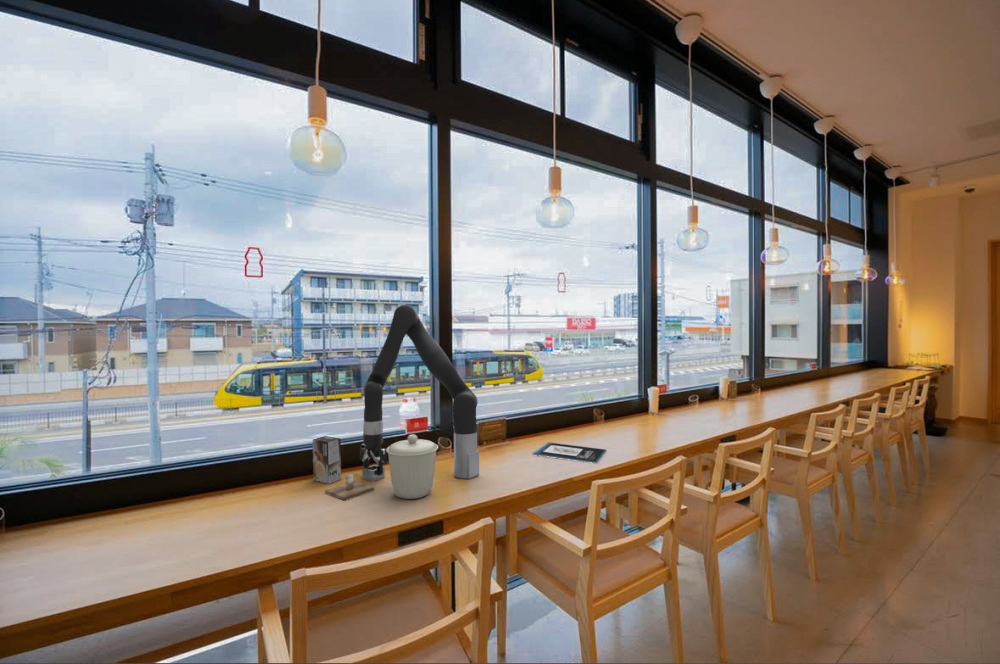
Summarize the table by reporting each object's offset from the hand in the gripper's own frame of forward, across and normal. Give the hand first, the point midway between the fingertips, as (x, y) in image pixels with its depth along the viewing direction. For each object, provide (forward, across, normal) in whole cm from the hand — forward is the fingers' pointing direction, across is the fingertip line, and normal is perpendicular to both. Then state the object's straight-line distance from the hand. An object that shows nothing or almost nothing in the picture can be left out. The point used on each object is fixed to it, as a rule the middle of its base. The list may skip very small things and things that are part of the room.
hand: (373, 472), depth 171 cm
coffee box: (+2, +12, +12) cm, 17 cm away
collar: (+2, 0, 0) cm, 2 cm away
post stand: (+2, -6, +14) cm, 15 cm away
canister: (+2, -25, +2) cm, 26 cm away
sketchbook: (+2, -46, -76) cm, 89 cm away
